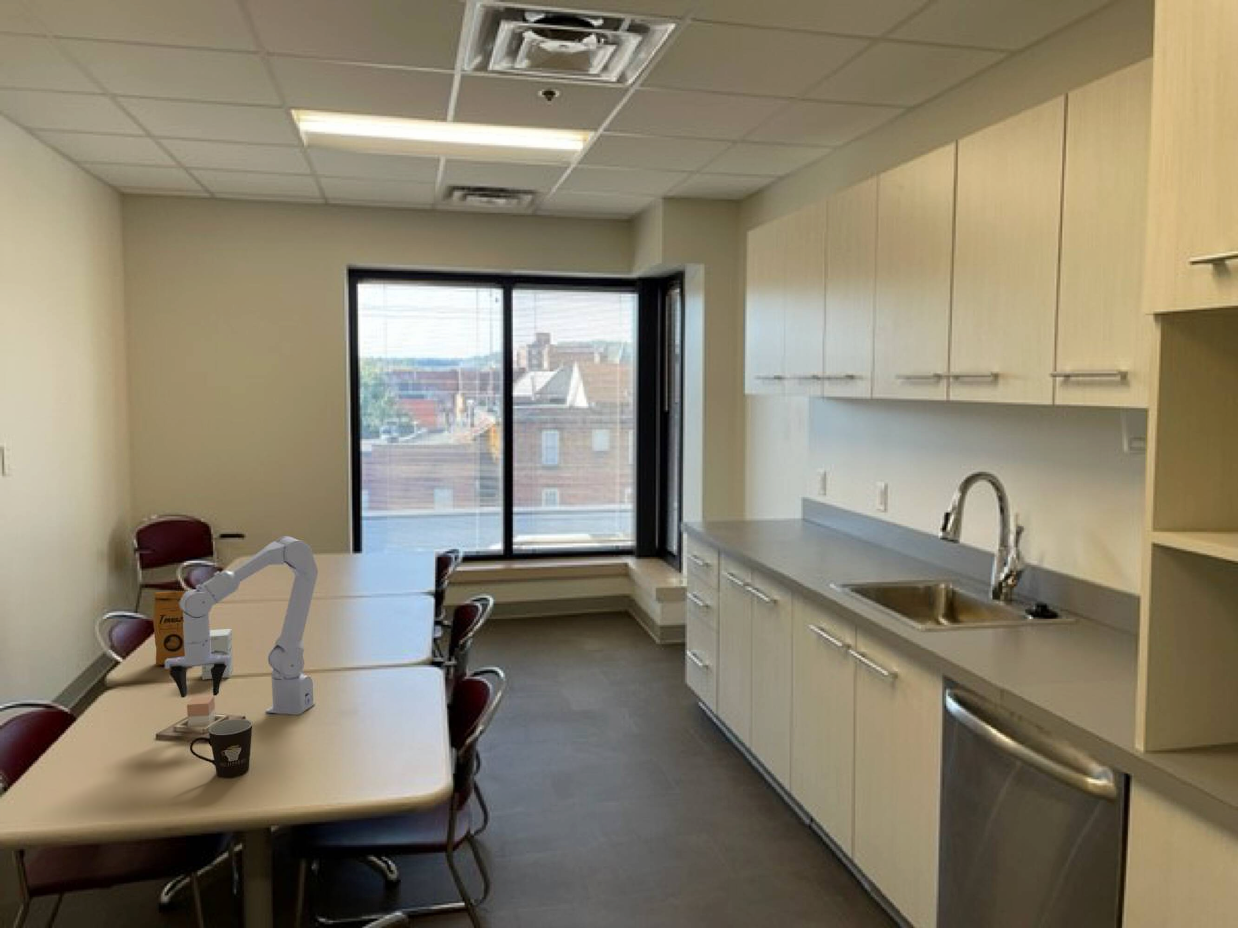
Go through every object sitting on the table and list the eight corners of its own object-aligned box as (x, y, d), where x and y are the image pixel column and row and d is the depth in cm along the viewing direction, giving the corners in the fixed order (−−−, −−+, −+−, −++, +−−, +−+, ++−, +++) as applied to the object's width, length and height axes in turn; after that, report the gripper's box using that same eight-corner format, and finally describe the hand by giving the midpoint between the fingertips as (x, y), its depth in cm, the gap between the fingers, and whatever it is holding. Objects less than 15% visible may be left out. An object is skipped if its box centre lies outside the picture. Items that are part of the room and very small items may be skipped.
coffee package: (195, 666, 258) (191, 594, 256) (150, 668, 256) (146, 595, 254) (206, 656, 268) (203, 586, 266) (164, 658, 266) (160, 587, 264)
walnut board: (245, 719, 216) (245, 712, 216) (208, 742, 203) (207, 734, 202) (195, 715, 219) (195, 708, 219) (155, 737, 205) (155, 729, 205)
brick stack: (215, 720, 214) (214, 696, 213) (209, 727, 209) (208, 703, 208) (194, 721, 213) (193, 697, 212) (188, 728, 208) (186, 704, 208)
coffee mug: (260, 762, 192) (258, 718, 191) (245, 780, 183) (243, 734, 182) (207, 763, 191) (204, 719, 190) (189, 781, 183) (186, 735, 182)
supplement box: (201, 680, 246) (199, 636, 245) (206, 672, 253) (204, 629, 252) (229, 677, 248) (227, 634, 247) (234, 669, 255) (232, 627, 254)
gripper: (233, 633, 214) (236, 687, 215) (170, 636, 212) (173, 691, 213) (225, 642, 207) (228, 697, 208) (160, 645, 205) (163, 701, 206)
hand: (200, 695), depth 210 cm, fingers open, 7 cm apart
